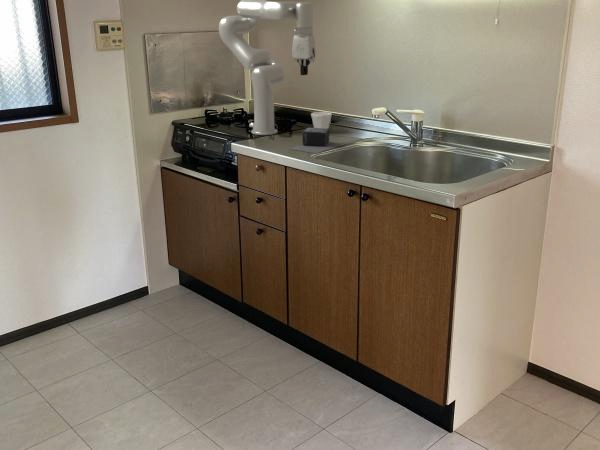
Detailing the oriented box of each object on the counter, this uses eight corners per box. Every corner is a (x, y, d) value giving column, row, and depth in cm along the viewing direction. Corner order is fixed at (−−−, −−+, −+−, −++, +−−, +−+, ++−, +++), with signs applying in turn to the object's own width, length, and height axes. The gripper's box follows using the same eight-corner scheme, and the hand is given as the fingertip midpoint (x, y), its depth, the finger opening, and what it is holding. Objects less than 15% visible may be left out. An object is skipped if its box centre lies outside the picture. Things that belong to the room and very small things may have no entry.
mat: (289, 149, 269) (289, 148, 269) (319, 140, 285) (319, 140, 285) (316, 153, 261) (316, 153, 261) (345, 144, 278) (345, 144, 277)
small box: (302, 146, 274) (325, 146, 272) (302, 131, 272) (325, 131, 270) (306, 141, 284) (329, 142, 282) (306, 127, 282) (329, 127, 280)
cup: (331, 134, 300) (332, 115, 297) (311, 134, 300) (311, 115, 297) (331, 130, 309) (331, 111, 306) (310, 130, 309) (311, 111, 306)
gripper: (285, 31, 275) (285, 74, 281) (312, 32, 266) (312, 76, 272) (295, 31, 280) (296, 73, 287) (323, 32, 272) (322, 75, 278)
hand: (304, 74), depth 279 cm, fingers closed
